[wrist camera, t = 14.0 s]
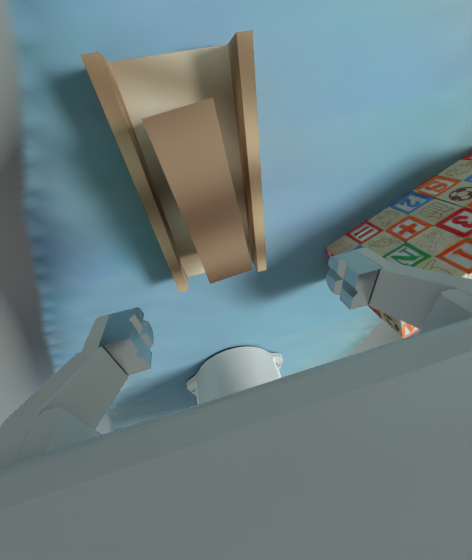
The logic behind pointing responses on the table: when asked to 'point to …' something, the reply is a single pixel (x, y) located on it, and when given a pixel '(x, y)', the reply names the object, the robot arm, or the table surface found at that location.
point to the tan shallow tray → (171, 95)
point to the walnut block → (202, 185)
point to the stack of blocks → (422, 230)
